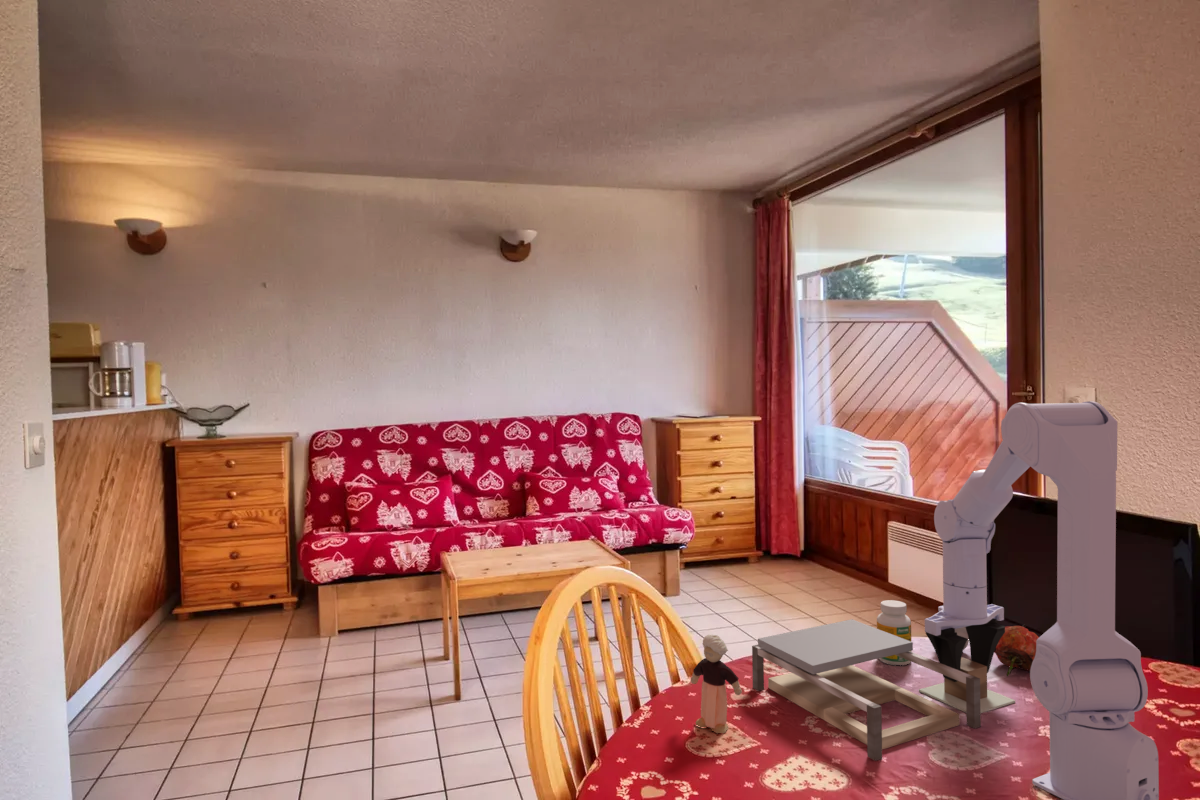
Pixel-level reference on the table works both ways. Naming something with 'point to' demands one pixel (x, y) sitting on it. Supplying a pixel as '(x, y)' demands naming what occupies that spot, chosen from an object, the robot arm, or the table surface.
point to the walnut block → (960, 688)
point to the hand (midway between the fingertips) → (965, 675)
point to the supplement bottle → (894, 626)
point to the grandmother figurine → (714, 684)
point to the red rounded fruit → (1017, 648)
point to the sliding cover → (834, 645)
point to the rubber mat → (986, 703)
